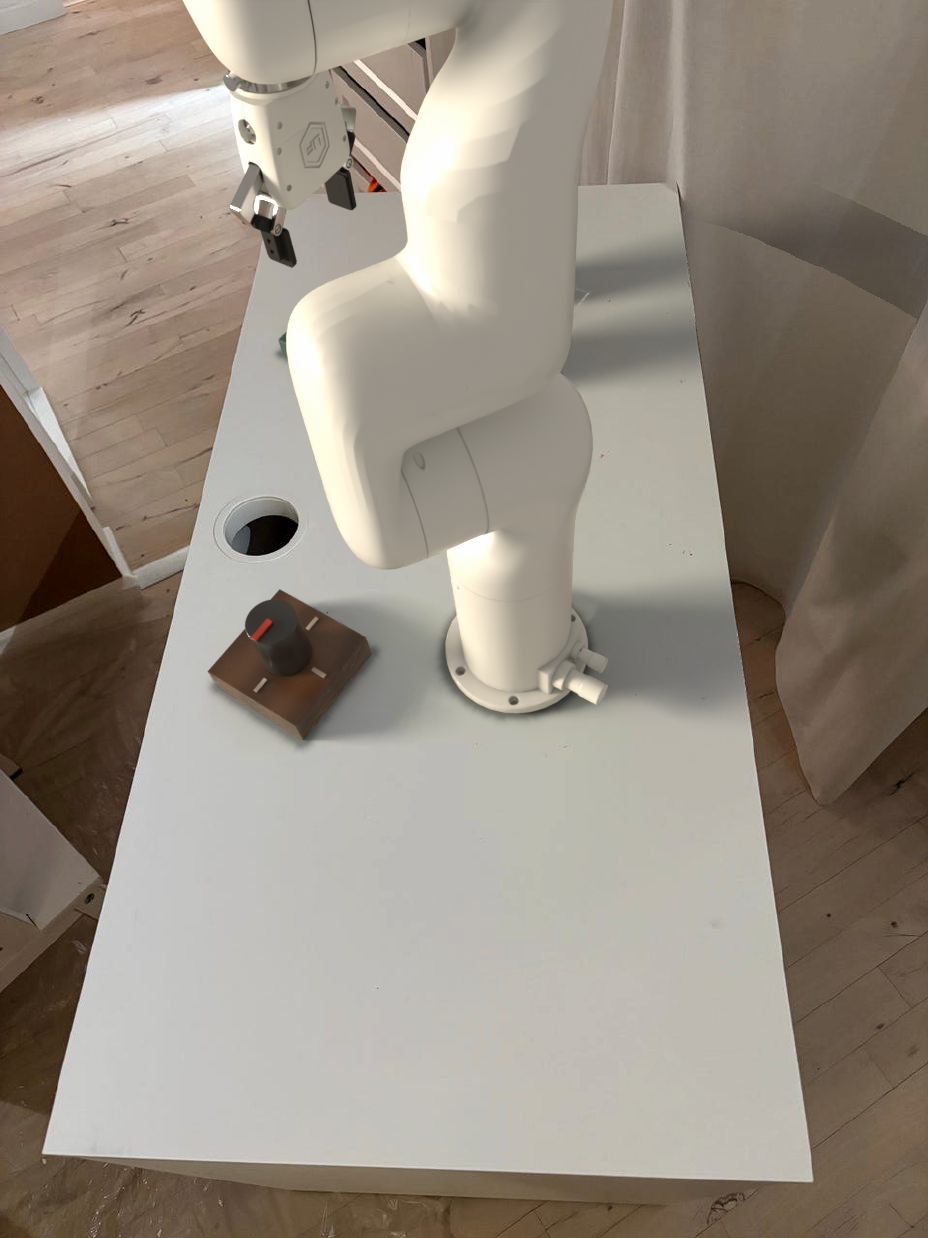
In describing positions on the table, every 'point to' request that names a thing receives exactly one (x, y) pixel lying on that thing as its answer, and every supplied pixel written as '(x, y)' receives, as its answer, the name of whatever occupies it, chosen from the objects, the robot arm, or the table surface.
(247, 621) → the dial
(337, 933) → the table surface
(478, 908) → the table surface
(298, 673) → the dial base
